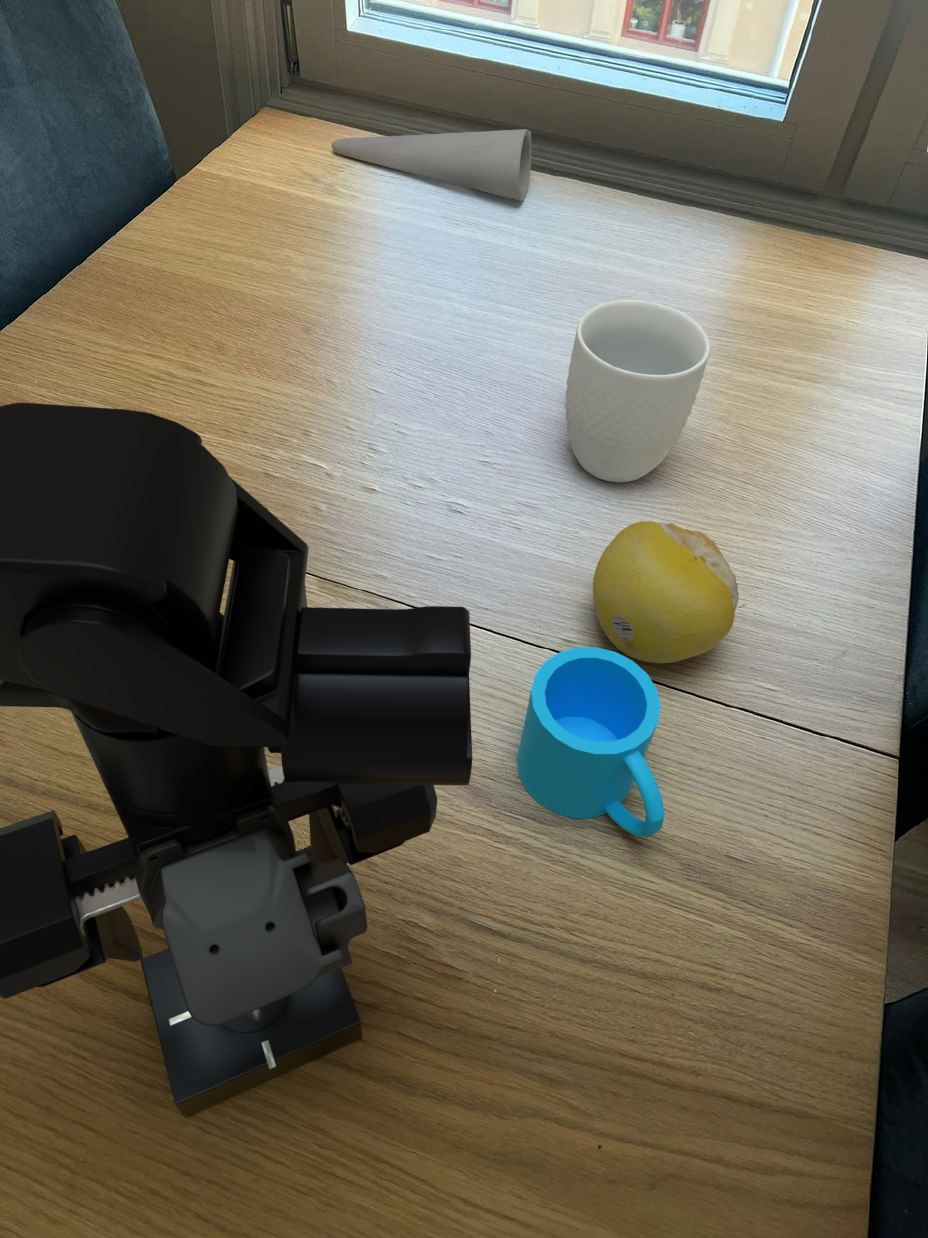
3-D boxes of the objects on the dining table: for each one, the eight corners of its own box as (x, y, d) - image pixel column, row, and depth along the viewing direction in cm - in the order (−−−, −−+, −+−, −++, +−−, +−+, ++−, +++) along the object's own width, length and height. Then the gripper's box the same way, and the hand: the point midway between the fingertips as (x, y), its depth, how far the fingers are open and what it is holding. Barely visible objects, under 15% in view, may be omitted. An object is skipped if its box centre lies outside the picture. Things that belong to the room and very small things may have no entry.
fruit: (692, 710, 68) (731, 624, 61) (560, 648, 71) (581, 558, 63) (736, 619, 74) (777, 530, 66) (613, 565, 77) (638, 474, 69)
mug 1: (526, 403, 90) (543, 279, 80) (631, 390, 92) (661, 269, 82) (577, 508, 81) (604, 383, 71) (692, 492, 83) (734, 369, 73)
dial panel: (186, 1124, 49) (176, 1110, 47) (149, 972, 54) (138, 953, 52) (364, 1044, 52) (363, 1027, 50) (314, 907, 57) (311, 885, 55)
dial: (220, 1046, 49) (208, 1022, 46) (198, 968, 51) (185, 940, 48) (300, 1012, 50) (294, 985, 47) (276, 937, 53) (268, 907, 49)
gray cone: (307, 140, 113) (518, 148, 108) (329, 110, 118) (531, 116, 113) (318, 203, 119) (519, 213, 114) (339, 172, 124) (531, 180, 119)
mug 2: (494, 744, 65) (506, 676, 59) (589, 699, 68) (610, 629, 62) (593, 888, 59) (618, 828, 53) (692, 831, 62) (727, 769, 56)
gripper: (-82, 1081, 26) (64, 1178, 38) (512, 838, 32) (476, 988, 44) (-114, 760, 32) (20, 931, 44) (389, 606, 38) (387, 794, 50)
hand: (233, 912), depth 45 cm, fingers open, 9 cm apart
